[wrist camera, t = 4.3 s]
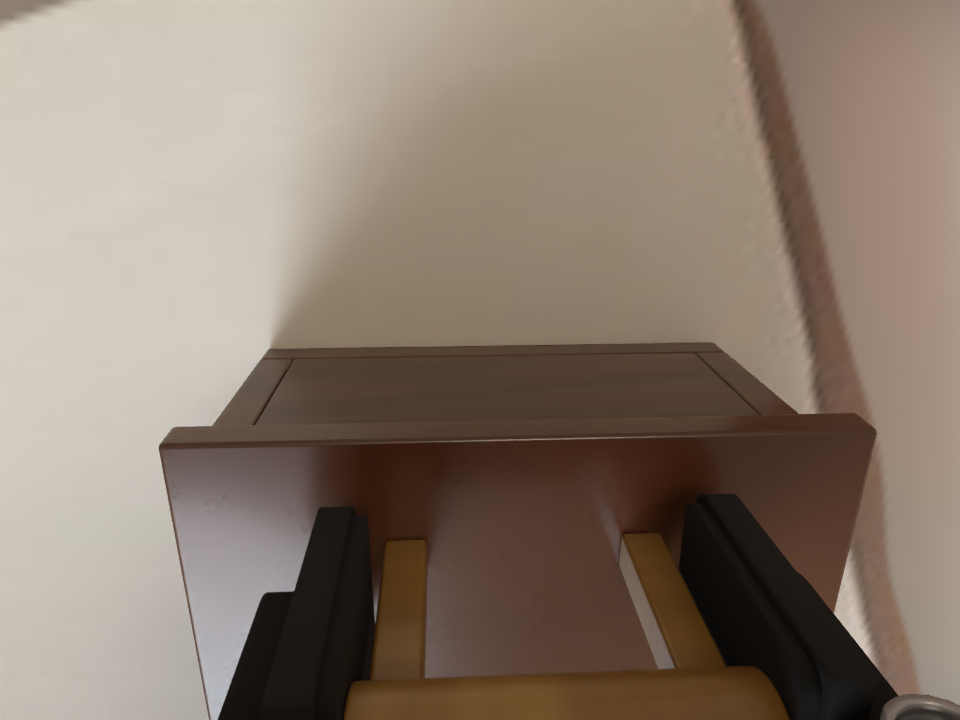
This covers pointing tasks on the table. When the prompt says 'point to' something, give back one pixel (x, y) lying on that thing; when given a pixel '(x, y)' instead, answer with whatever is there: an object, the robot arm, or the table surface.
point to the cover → (513, 552)
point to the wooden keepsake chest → (497, 384)
